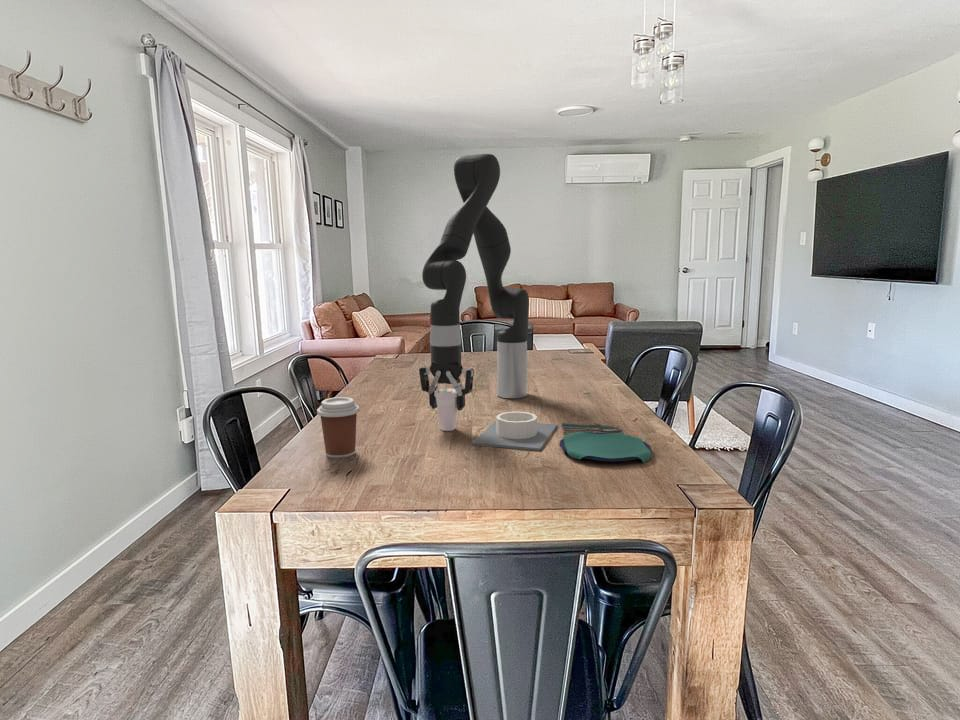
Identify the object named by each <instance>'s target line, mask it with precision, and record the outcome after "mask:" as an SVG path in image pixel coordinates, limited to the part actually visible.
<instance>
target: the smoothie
mask: <svg viewBox="0 0 960 720" xmlns="http://www.w3.org/2000/svg"><path fill="white" fill-rule="evenodd" d="M447 385H448V384H447V383H444V388H441V389H437V390H436V391H435V392H434V396H435V397H436V403H437V415H438V420H439V428H440V431H443V432H449V431H454V430H455V429H456V423H457V413H458V409H457V396H458V394H457V392H456V390H455V388H448V386H447Z"/></svg>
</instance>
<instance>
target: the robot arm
mask: <svg viewBox="0 0 960 720" xmlns="http://www.w3.org/2000/svg"><path fill="white" fill-rule="evenodd" d="M453 164H454V165H453V174H454V179H455V184H456V187H457V190H458V192H459V194H460V198H461V199H462V200H461V201H462V204H461V206H460V207H458V208H457V210H456V211H455V212H453V214H452V215H451V216H450V217H449V219H448V221H447V222H446V225H445V227H444V230H443V233H442V236H441V239H440V242H439V243H438V245H437V246H436V248H435V249H434V250H433V251H432V253H431V254H430V256H429V257H428V259H427V260H426V262H425V263H424V266H423V268H422V274H421V277H422V281H423V284H424V285H425V287H426V288H427V289H430V290H433V291H434V290H436V291H437V290H438V291H439V290H441V291H444V290H445V291H446V292H445V294H444V296H443V298H441V299H436V300H434V301H432V302H431V303H430V331H429V344H430V362H431V363H430V366H426V365H425V366H422V367H420V368H419V369H418V372H419V379H420V387H421V391H422V392H426V393H428V395H429V396H428V397H429V399H428V400H429V406H430V407H431V409H433V410H435V409H436V408H437V403H436V397H435V396H434V392H435V391H436V390H438V388H439V386H440V385H441V384H443V385H444V384H445V383H447V385H452V389H455V390H456V392H457V394H458V396H457V411H462V410H463V409H464V408H465V406H466V395H469V393H471V392H472V391H473V389H474V388H473V386H474V376H475V374H474V373H475V369H474V368H464V367H463V366H462V332H461V325H460V307H461V302H462V296H463V293H464V289H465V285H466V281H467V273H466V269H465V266H464V264H463V263H462V262H461V261H459V260H461V259H463V258H465V256H466V255H467V254H468V251H469V248H470V245H471V241H472V238H473V237H474V241H475V245H476V248H477V252H478V255H479V258H480V262H481V265H482V268H483V273H484V276H485V280H486V285H487V291H488V297H489V303H490V307H491V311H492V313H493V315H494V317H496V318H498V319H502V320H503V319H505V320H513V323H512V325H511V326H510V327H507V328H505V329H502V330H500V331H498V332H497V334H496V346H497V347H496V348H497V350H496V353H497V355H496V356H497V357H496V361H497V363H496V364H497V367H496V368H497V370H496V371H497V372H496V373H497V374H496V375H497V377H496V379H497V381H496V382H497V390H496V391H497V393H496V394H497V396H498V397H499V398H504V399H521V398H525V397H527V396H528V332H529V316H530V315H529V312H530V298H529V294H528V292H527V290H526V289H524V288H505V287H504V286H503V281H502V277H503V273H504V270H505V269H506V266H507V264H508V262H509V259H510V257H511V252H512V250H511V244H510V240H509V235H508V233H507V232H508V231H507V229H506V227H505V226H504V224H503V223H502V221H501V220H500V219H499V218H498V217H497V216H496V215H495V214H494V213H493V212H492V211H491V209H489V207H488V204H489V203H490V200H491V198H492V197H493V195H494V193H495V191H496V189H497V187H498V184H499V180H500V177H501V166H500V163H499V160H498V158H497V157H496V156H495V155H494V154H492V153H478V154H477V153H476V154H464V155H461V156H458V157H457V158H456V159H455V161H454V163H453ZM430 373H431V375H432V376H433V379H432V381H431V383H430V377H429V375H430ZM462 374H463V377H464V378H465V381H464V385H463V381H462V379H461V377H460V376H461V375H462Z"/></svg>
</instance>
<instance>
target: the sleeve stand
mask: <svg viewBox="0 0 960 720" xmlns="http://www.w3.org/2000/svg"><path fill="white" fill-rule="evenodd" d="M495 416H496V417H495V418H496V419H495V421H494V422H492V424H490V425H489V426H488V427H486V429H485V430H483V432H482V433H480V434H479V435H478V436H477V437H476V438H475V439H474V440H472V442H471V445H472V446H481V447H491V448H492V447H493V448H503V449H505V448H506V449H512V450H513V449H514V450H525V451H526V450H527V451H537V452H541V451H542V449H543V448H544V447H545V445H546V443H547V442H548V440H549V439H550V438H551V436H552V435H553V433H554V432H555V431H556V429H557V428H558V424H557V423H546V422H545V423H544V422H538V416H537V415H536V414H534V413H531V412H525V411H507V412H502V413H499V414H497V415H495Z"/></svg>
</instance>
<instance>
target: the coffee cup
mask: <svg viewBox="0 0 960 720" xmlns="http://www.w3.org/2000/svg"><path fill="white" fill-rule="evenodd" d="M320 404H321V405H320V406H319V407H317V409H316V415H317V416H319V417H320V422H321V428H322V429H321V431H322V434H323V436H322V437H323V443H324V448H325V449H324V450H325V456H326V457H327V458H330V459H345V458H349V457H351V456H354V455H355V454H356V439H357V414H358V413H359V412H360V406H359V405H358V404H356V403H355V400H354V398H351V397H345V396H343V397H341V396H339V397H330V398H326V399H323V400H322V401H321V402H320Z"/></svg>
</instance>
